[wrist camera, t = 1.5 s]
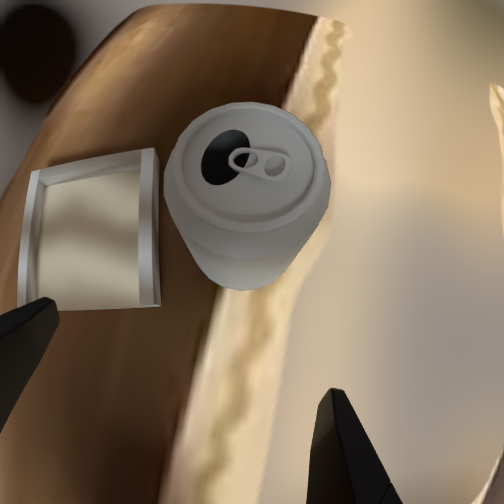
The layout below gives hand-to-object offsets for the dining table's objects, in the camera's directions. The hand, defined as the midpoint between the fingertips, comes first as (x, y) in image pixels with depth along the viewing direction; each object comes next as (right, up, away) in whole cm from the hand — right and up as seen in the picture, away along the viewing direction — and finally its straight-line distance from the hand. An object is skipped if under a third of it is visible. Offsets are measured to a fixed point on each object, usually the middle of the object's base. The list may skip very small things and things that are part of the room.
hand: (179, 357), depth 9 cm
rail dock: (-11, +4, +14) cm, 19 cm away
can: (+1, +4, +15) cm, 16 cm away
